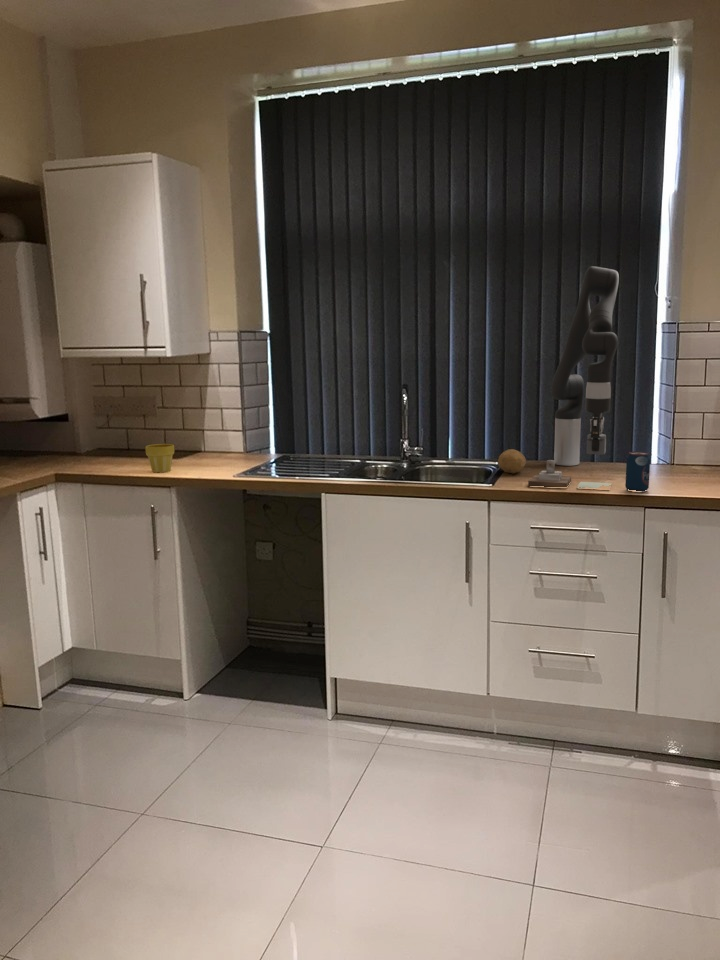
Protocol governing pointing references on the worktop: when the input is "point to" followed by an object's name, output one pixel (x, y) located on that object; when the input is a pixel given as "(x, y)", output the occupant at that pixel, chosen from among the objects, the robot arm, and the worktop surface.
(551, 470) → the post stand
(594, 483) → the mat
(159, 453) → the plant pot
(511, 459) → the potato
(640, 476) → the soda can
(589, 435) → the cap
